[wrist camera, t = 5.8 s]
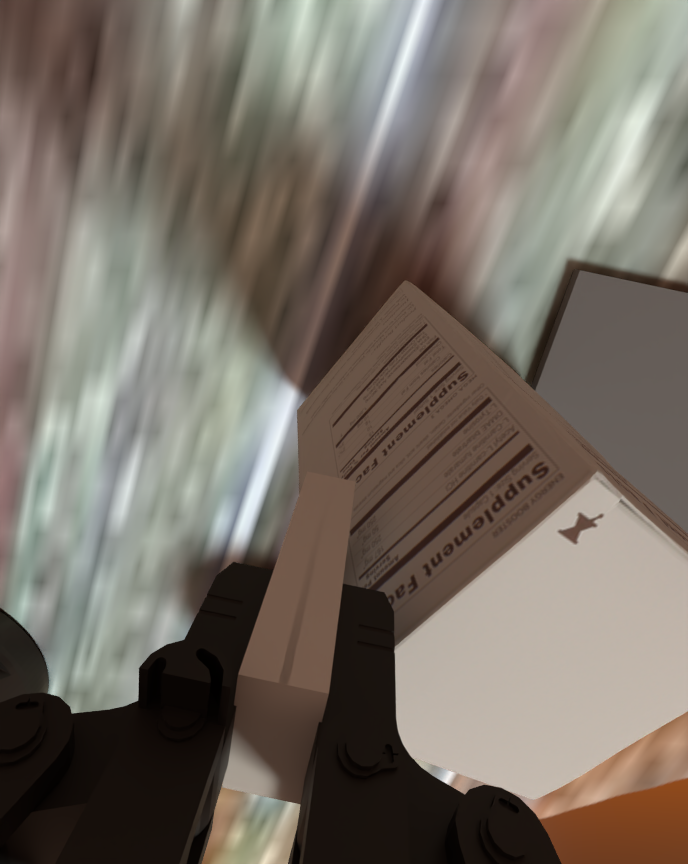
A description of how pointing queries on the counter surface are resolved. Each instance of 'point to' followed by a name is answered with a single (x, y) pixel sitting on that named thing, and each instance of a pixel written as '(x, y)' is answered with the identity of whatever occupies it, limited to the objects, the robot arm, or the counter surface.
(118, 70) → the counter surface
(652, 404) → the mat
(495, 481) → the supplement box
